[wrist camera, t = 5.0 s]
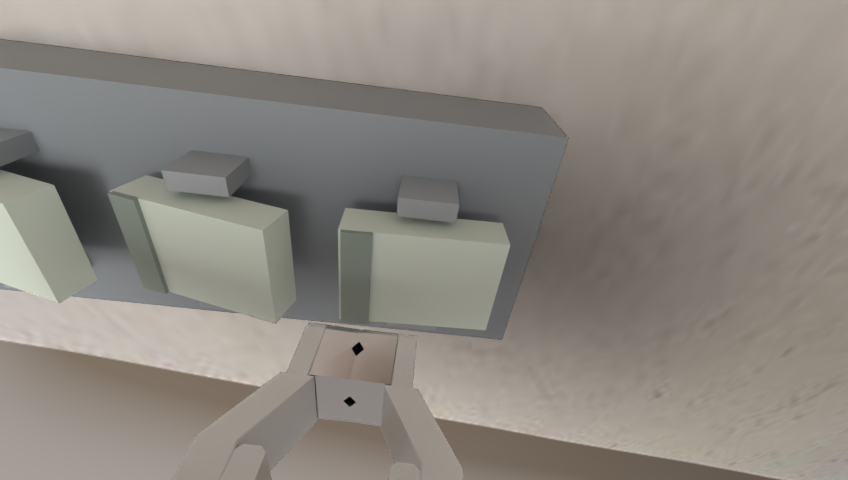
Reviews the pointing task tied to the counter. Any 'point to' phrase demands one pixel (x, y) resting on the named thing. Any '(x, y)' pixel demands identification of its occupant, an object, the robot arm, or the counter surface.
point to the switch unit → (270, 159)
